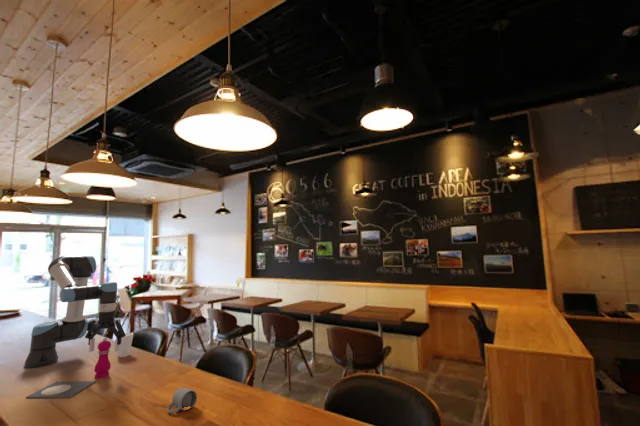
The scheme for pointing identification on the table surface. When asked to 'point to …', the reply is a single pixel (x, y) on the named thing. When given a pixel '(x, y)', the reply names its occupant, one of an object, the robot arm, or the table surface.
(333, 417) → the table surface
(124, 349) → the foam cup
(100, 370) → the pepper mill
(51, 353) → the robot arm
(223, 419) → the table surface
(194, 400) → the ceramic mug
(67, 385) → the mat
